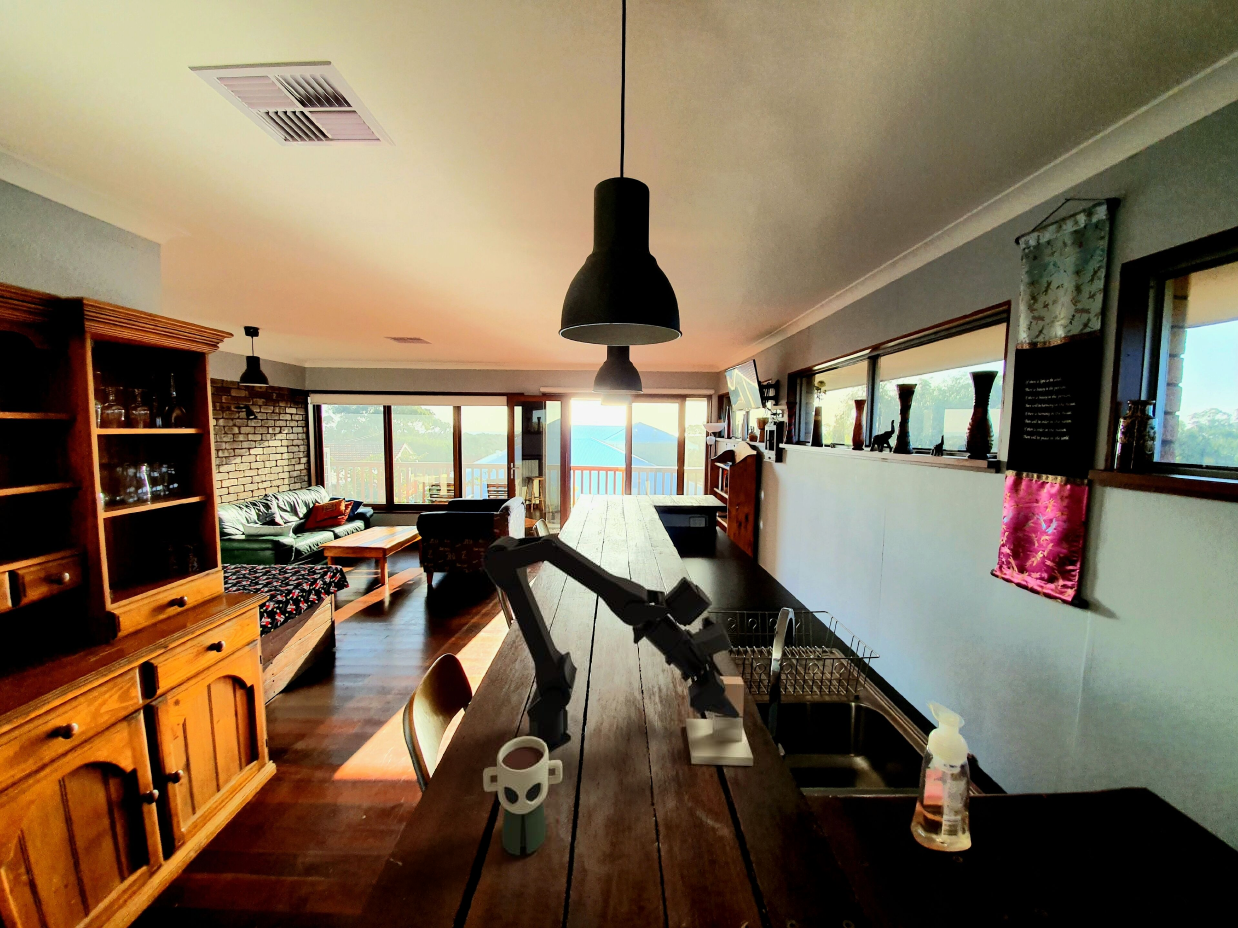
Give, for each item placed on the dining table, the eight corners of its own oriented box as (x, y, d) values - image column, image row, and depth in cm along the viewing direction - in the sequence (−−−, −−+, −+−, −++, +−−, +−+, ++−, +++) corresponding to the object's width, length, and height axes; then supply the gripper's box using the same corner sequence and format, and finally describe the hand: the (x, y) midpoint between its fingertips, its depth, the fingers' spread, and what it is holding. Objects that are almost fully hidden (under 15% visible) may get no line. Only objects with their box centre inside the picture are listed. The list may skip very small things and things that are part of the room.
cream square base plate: (691, 763, 80) (692, 729, 79) (686, 725, 90) (686, 695, 89) (752, 765, 79) (753, 731, 79) (740, 727, 89) (741, 697, 89)
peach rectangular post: (715, 715, 83) (715, 683, 82) (712, 706, 85) (713, 676, 84) (743, 715, 82) (743, 684, 82) (740, 707, 85) (740, 676, 84)
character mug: (481, 867, 61) (478, 776, 60) (488, 821, 68) (485, 739, 67) (563, 855, 63) (562, 766, 62) (562, 812, 70) (561, 731, 69)
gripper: (712, 634, 73) (780, 702, 73) (697, 591, 92) (751, 645, 92) (662, 681, 74) (730, 747, 75) (657, 629, 93) (711, 682, 93)
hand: (732, 700), depth 84 cm, fingers open, 9 cm apart
